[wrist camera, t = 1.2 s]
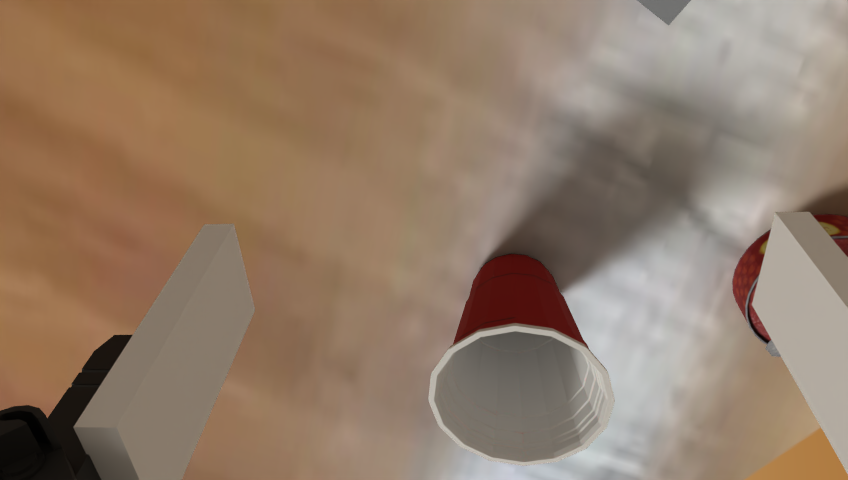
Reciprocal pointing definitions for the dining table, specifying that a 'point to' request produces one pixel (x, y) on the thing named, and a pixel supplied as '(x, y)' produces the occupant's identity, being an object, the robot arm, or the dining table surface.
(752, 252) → the canned food
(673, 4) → the tray
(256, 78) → the dining table surface
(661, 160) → the dining table surface
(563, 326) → the plastic cup
